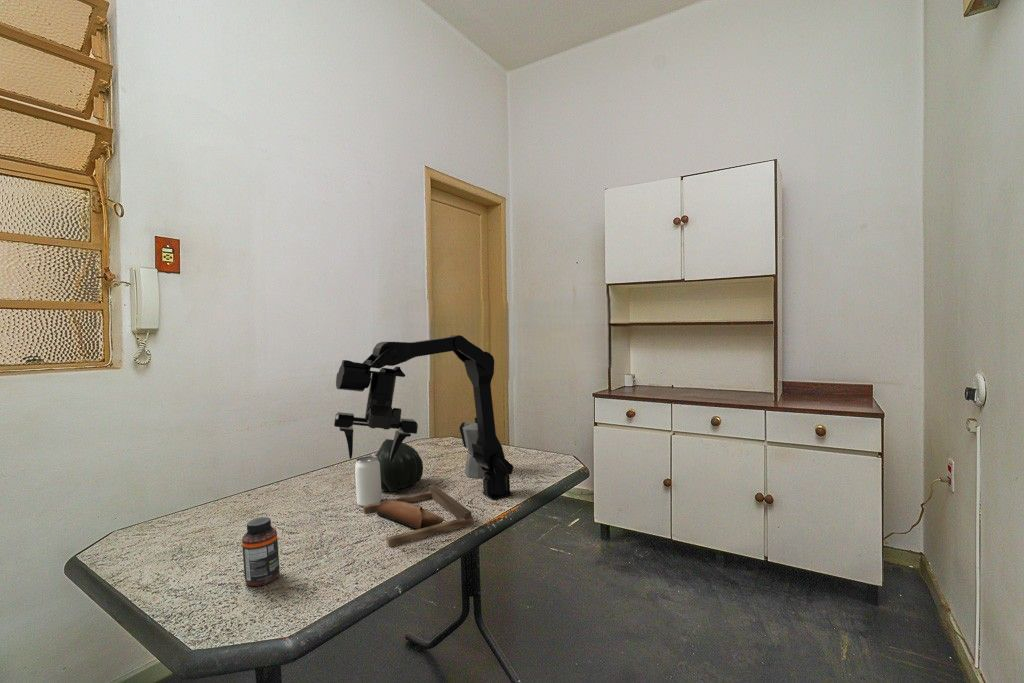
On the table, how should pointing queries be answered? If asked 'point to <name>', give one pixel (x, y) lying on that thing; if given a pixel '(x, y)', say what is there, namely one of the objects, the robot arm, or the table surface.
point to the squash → (399, 466)
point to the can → (368, 480)
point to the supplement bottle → (260, 552)
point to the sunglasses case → (408, 514)
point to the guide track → (450, 505)
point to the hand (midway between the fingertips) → (370, 459)
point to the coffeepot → (471, 449)
